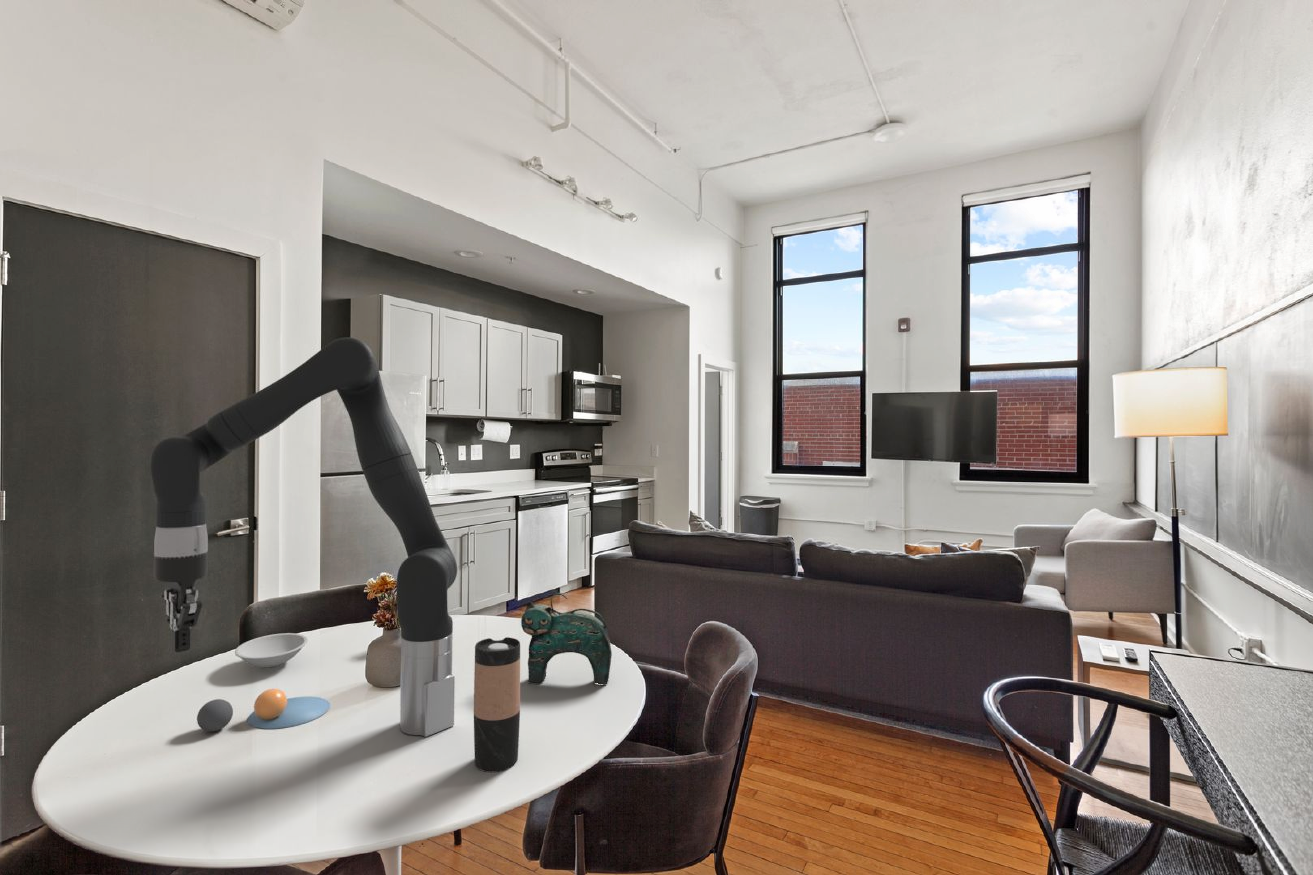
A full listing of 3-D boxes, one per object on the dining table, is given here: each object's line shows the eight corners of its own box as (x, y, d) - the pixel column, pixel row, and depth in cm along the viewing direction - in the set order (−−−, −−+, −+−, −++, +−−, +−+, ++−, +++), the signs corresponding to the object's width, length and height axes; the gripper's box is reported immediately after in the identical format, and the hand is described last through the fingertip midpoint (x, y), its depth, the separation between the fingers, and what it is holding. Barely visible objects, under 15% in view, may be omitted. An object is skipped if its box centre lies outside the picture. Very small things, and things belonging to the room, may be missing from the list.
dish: (249, 655, 158) (249, 635, 158) (314, 650, 162) (314, 631, 162) (223, 683, 141) (223, 660, 141) (296, 677, 145) (297, 655, 145)
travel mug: (495, 777, 104) (497, 654, 104) (463, 764, 109) (464, 645, 108) (528, 757, 111) (530, 641, 111) (496, 745, 115) (498, 633, 115)
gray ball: (204, 701, 116) (215, 729, 115) (233, 690, 122) (243, 717, 121) (185, 712, 118) (196, 741, 117) (215, 701, 123) (225, 728, 122)
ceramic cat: (519, 685, 142) (520, 594, 142) (526, 674, 149) (527, 587, 148) (609, 688, 141) (610, 597, 141) (612, 677, 148) (614, 589, 147)
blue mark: (343, 710, 128) (343, 709, 128) (266, 736, 117) (266, 734, 117) (310, 691, 137) (310, 690, 137) (236, 714, 126) (236, 713, 126)
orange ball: (266, 729, 121) (296, 711, 125) (257, 704, 120) (287, 686, 124) (254, 721, 125) (283, 703, 129) (244, 697, 123) (274, 680, 127)
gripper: (220, 553, 111) (219, 653, 112) (193, 543, 119) (193, 637, 120) (167, 559, 105) (167, 665, 106) (143, 549, 114) (143, 647, 114)
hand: (181, 650), depth 113 cm, fingers closed
